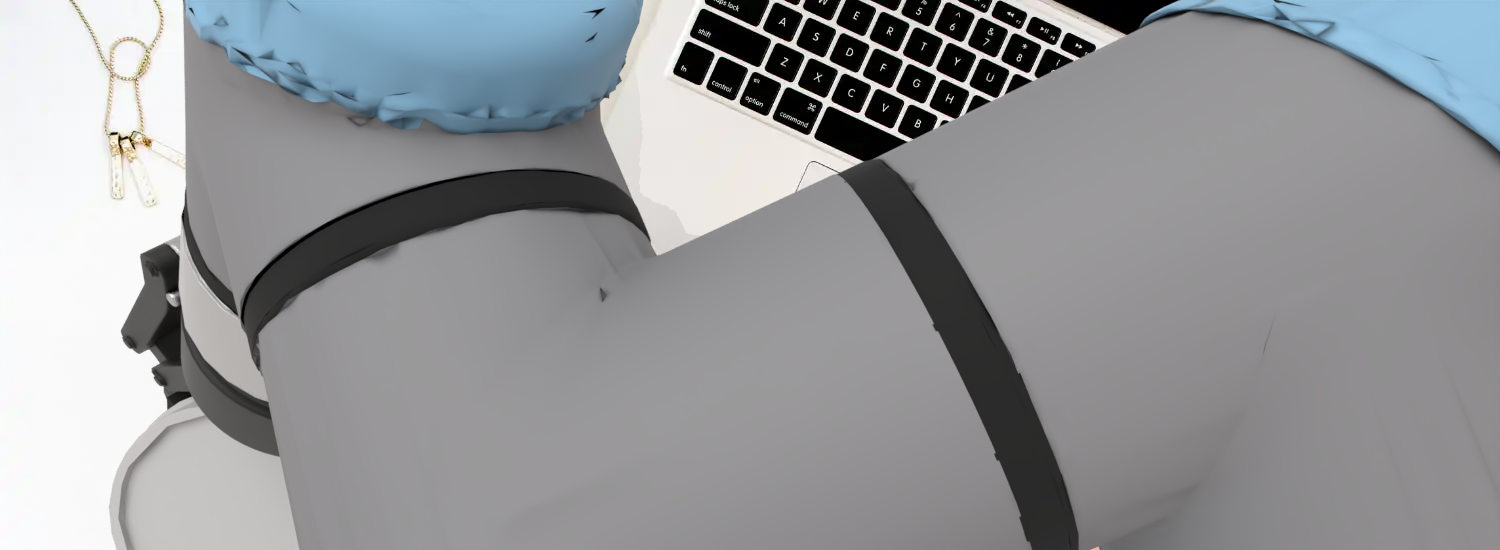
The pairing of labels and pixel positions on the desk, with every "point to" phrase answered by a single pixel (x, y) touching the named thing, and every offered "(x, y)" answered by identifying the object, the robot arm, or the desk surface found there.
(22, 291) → the desk surface
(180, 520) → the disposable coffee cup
